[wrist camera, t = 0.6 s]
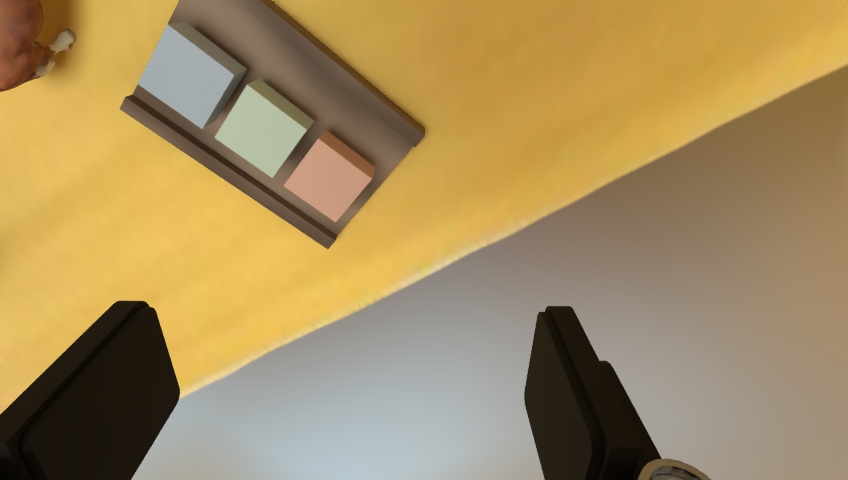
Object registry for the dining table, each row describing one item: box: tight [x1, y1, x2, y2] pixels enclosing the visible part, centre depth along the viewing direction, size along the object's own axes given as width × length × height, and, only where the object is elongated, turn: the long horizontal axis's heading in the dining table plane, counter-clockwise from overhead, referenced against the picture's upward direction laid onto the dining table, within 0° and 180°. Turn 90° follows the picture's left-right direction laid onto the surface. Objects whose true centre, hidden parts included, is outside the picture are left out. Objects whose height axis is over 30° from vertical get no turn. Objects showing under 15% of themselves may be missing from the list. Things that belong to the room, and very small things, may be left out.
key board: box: [120, 0, 425, 249], centre depth 37 cm, size 14×20×2 cm
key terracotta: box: [284, 129, 375, 222], centre depth 37 cm, size 5×5×2 cm
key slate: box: [138, 22, 247, 129], centre depth 33 cm, size 5×5×2 cm
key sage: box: [215, 79, 314, 178], centre depth 35 cm, size 5×5×2 cm
